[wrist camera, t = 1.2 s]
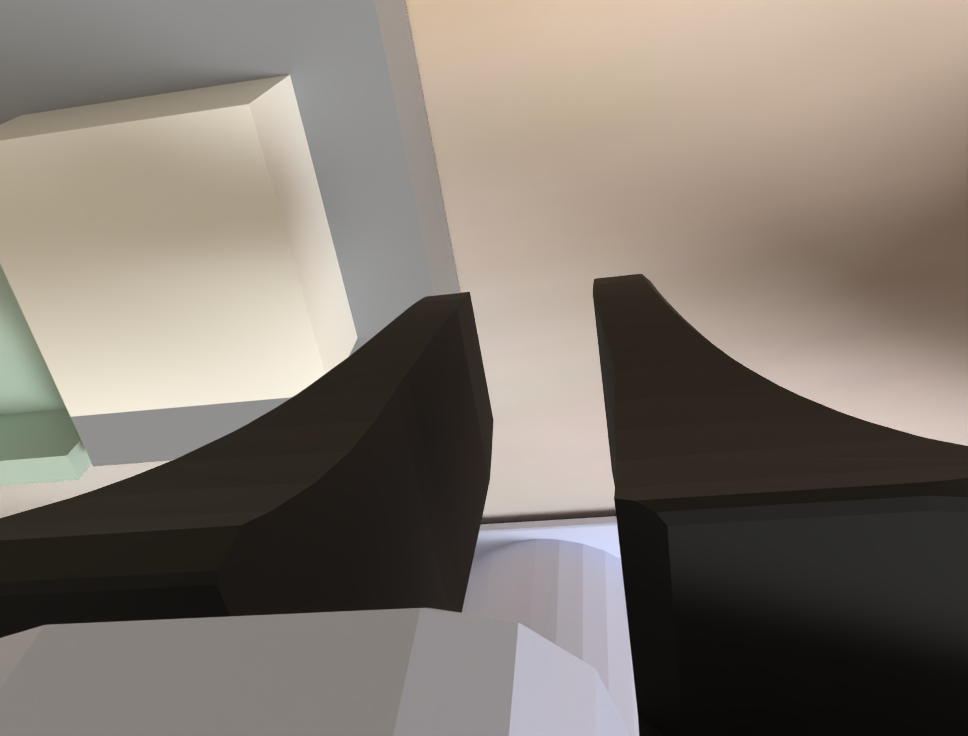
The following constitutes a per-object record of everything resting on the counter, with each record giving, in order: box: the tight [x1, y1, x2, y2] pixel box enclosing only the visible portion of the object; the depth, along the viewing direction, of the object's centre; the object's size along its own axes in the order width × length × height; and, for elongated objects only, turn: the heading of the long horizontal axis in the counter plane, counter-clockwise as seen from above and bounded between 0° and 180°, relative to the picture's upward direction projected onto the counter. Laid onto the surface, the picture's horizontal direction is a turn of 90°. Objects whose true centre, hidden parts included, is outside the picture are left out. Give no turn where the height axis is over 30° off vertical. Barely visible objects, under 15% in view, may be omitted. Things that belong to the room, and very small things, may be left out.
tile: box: [0, 75, 357, 417], centre depth 18 cm, size 6×6×2 cm
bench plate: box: [0, 0, 460, 466], centre depth 21 cm, size 12×10×3 cm
